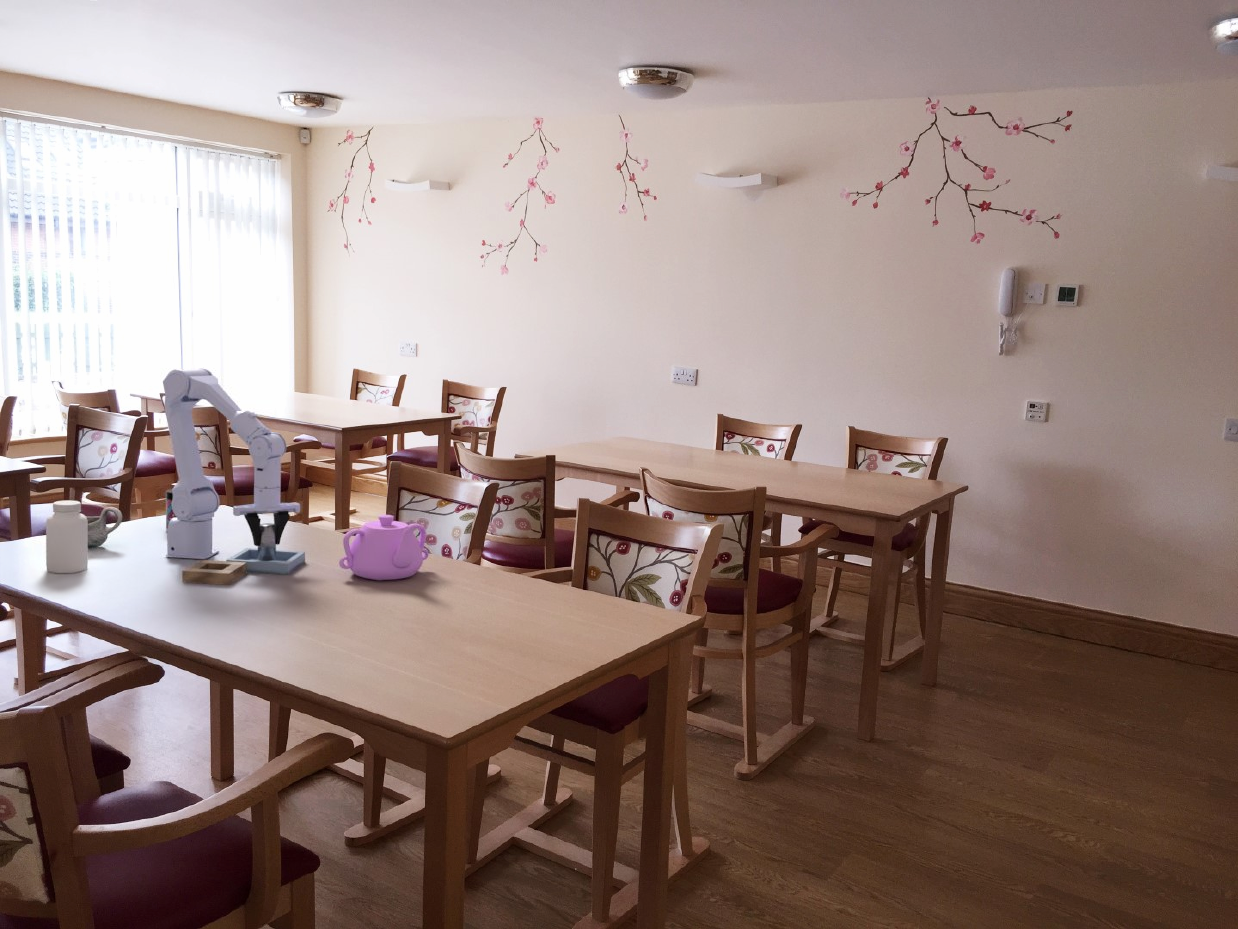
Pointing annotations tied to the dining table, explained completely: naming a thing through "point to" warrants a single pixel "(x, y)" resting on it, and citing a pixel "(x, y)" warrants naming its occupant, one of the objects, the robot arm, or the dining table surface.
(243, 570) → the socket block
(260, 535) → the pin
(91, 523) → the mug
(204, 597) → the dining table surface
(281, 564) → the tray
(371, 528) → the pink lidded pot
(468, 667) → the dining table surface
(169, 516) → the supplement container
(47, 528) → the pill bottle
